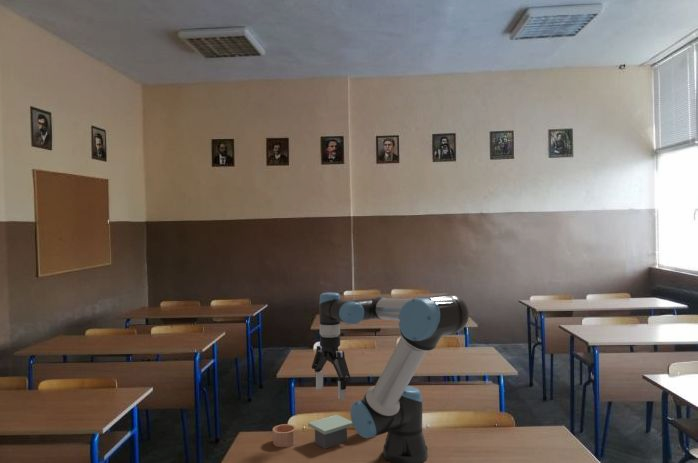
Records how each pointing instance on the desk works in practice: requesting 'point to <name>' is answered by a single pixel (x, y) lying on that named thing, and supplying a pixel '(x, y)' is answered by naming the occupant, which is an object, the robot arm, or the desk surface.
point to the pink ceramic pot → (284, 435)
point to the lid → (330, 424)
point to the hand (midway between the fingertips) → (330, 393)
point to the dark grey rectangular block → (330, 438)
